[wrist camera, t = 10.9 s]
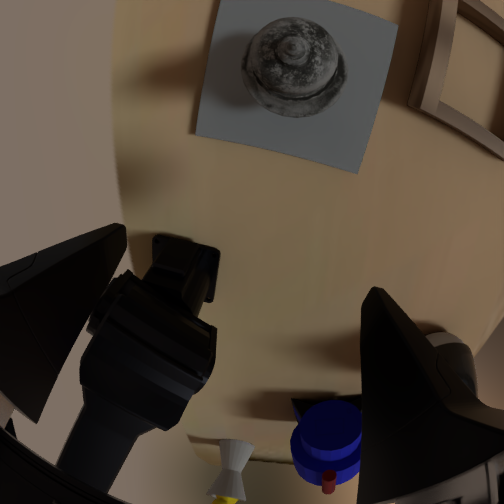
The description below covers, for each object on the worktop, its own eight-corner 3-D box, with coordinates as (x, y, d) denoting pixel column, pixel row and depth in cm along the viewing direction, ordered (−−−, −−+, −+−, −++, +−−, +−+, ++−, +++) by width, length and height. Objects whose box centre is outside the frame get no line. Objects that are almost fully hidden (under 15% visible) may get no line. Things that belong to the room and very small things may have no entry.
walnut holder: (505, 162, 16) (521, 172, 14) (406, 105, 16) (420, 108, 14) (529, 58, 9) (546, 60, 7) (431, -15, 10) (445, -22, 7)
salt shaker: (233, 60, 16) (147, 33, 6) (307, 18, 13) (321, -65, 3) (281, 127, 18) (260, 186, 8) (355, 89, 16) (436, 100, 6)
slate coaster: (355, 170, 20) (357, 174, 19) (198, 133, 20) (195, 135, 19) (394, 27, 13) (398, 25, 12) (227, -13, 13) (224, -16, 12)
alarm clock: (297, 421, 44) (289, 496, 32) (289, 391, 38) (278, 486, 25) (364, 416, 41) (365, 492, 29) (371, 385, 35) (377, 481, 22)
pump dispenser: (424, 310, 26) (461, 438, 13) (475, 327, 26) (510, 429, 14) (374, 363, 32) (384, 474, 19) (427, 373, 32) (444, 466, 20)
